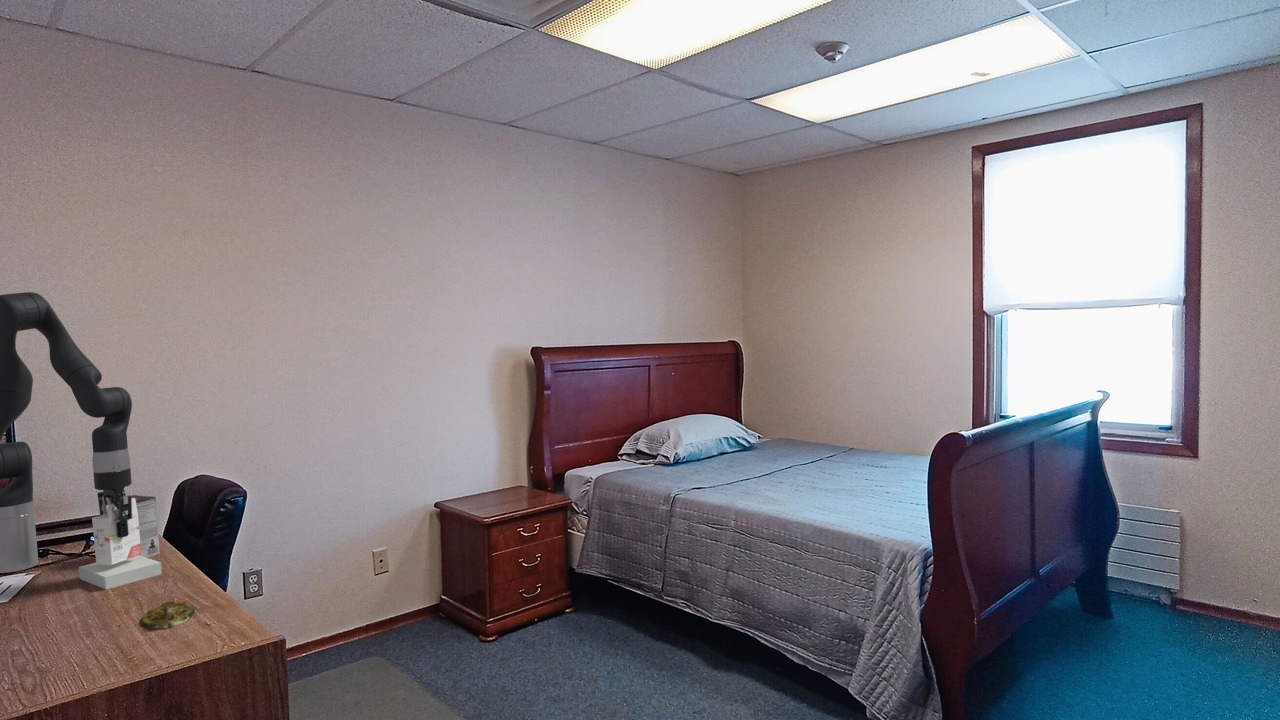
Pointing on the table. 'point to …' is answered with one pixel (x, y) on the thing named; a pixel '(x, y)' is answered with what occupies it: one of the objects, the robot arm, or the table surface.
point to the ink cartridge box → (115, 537)
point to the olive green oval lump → (168, 615)
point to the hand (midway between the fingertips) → (117, 534)
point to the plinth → (120, 572)
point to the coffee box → (147, 525)
